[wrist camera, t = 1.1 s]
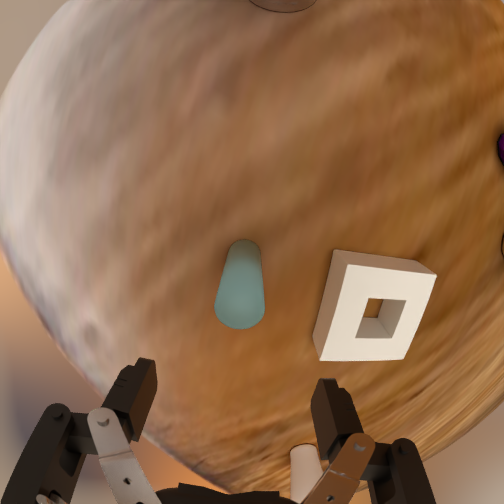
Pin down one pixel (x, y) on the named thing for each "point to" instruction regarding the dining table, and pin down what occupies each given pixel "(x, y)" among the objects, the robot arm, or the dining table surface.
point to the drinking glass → (304, 471)
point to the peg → (241, 287)
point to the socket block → (354, 302)
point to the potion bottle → (501, 148)
